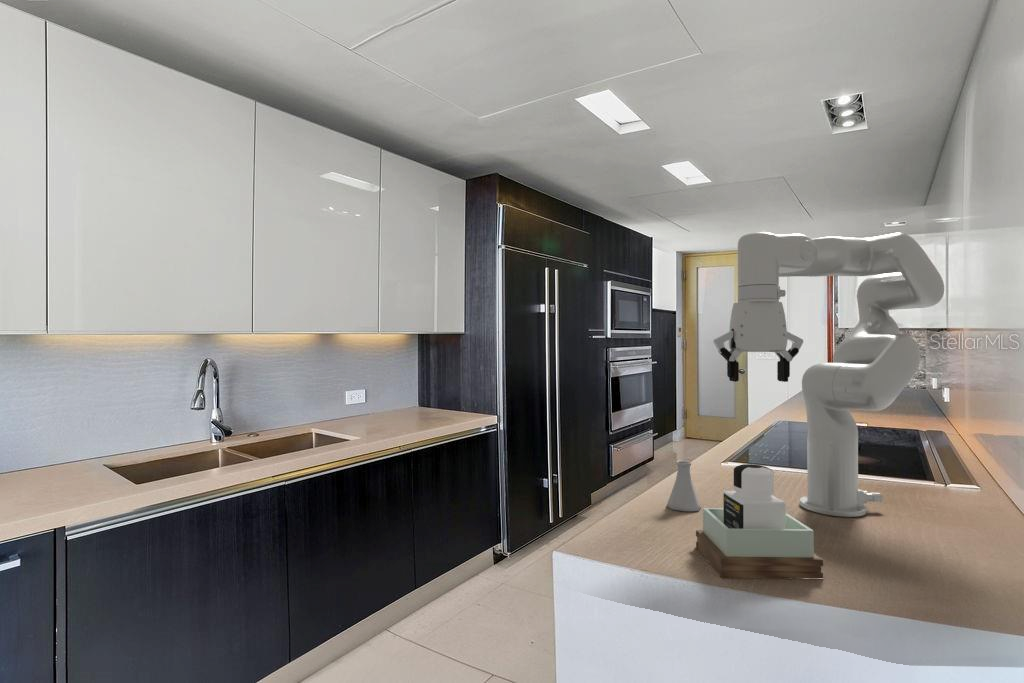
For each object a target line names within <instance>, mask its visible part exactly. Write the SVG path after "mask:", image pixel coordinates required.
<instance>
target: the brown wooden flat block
mask: <svg viewBox="0 0 1024 683" xmlns="http://www.w3.org/2000/svg"><path fill="white" fill-rule="evenodd" d="M695 537H696V541H695V548H696V549H697V550H698V551H699V552H700V553H701V554H702V555H704V558H705V559H706V560H707V561H708V563H709V562H710V563H709V564H710V566H711V567H713V569H714V568H715V569H714V570H715V571H716V572H717V574H718V575H719V574H720V575H719V577H720V578H721V579H766V580H768V579H769V580H770V579H773V580H776V579H777V580H778V578H823V579H824V572H823V571H822V567H823V566H824V559H823V558H822V557H820V556H818V555H817V554H816V553H814V558H811V557H727V556H726V555H725V554H724V553H723V552H722V551H721V550H720V549H719V548H718V547H717V546H716V545H715V544H714V543H713V542H712V541H711V540H710V538H709V537H708V536H707V535H706V534H705V533H704V532H703V529H696V530H695Z"/></svg>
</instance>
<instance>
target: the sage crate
mask: <svg viewBox="0 0 1024 683" xmlns="http://www.w3.org/2000/svg"><path fill="white" fill-rule="evenodd" d="M702 530H703V532H704V533H705V534H706V535H707V536H708V537H709V538H710V540H711V541H712V542H713V543H714V544H715V545H716V546H717V547H718V548H719V549H720V550H721V551H722V552H723V553H724V554H725V555H726V556H727V557H811V558H814V554H815V552H814V551H815V546H814V545H815V540H814V538H815V535H814V534H815V533H814V532H815V530H813V529H812V528H810V527H809V526H807V525H806V524H805V523H802V522H801V521H799V520H797V518H794V517H793V516H792V515H790V514H789V513H787V512H786V529H730V528H728V527H727V526H726V525H725V524H724V507H720V508H719V507H703V508H702Z"/></svg>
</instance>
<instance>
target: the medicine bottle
mask: <svg viewBox="0 0 1024 683" xmlns="http://www.w3.org/2000/svg"><path fill="white" fill-rule="evenodd" d="M774 472H775V471H773V470H772V469H771V468H769V467H767V466H764V465H760V464H750V463H747V464H746V463H745V464H744V463H743V464H739V465H736V466H735V467H734V468H733V490H724V491H723V508H724V524H725V525H726V526H727V527H728V528H730V529H786V513H787V509H786V508H787V504H786V502H785V501H784V500H782V499H780V498H779V497H776V496H774V494H775V489H774V488H775V475H774V474H775V473H774Z"/></svg>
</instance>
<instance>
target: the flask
mask: <svg viewBox="0 0 1024 683" xmlns="http://www.w3.org/2000/svg"><path fill="white" fill-rule="evenodd" d="M691 465H692V462H691V461H688V460H677V461H676V466H677V468H676V469H677V470H676V471H677V473H676V479H675V481H674V484H673V488H672V490H671V493H670V495H669V499H668V501H667V503H666V507H667V508H669V509H671V510H675V511H680V512H699V511H700V510H701V509H702V505H701V503H700V500H699V497H698V495H697V493H696V490H695V489H696V488H695V486H694V484H693V481H692V475H691Z"/></svg>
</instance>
